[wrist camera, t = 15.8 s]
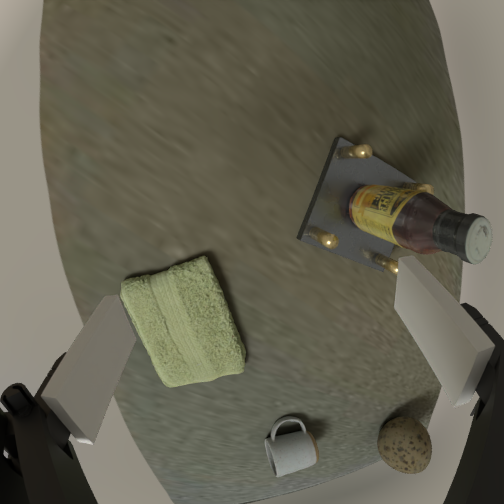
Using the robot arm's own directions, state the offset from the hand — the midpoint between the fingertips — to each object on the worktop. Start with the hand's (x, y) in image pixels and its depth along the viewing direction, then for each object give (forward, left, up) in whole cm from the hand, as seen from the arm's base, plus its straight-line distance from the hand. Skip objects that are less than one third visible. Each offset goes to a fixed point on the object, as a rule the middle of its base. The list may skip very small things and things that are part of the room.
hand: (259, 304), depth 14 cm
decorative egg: (+29, +49, -25) cm, 62 cm away
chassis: (-8, +18, -25) cm, 31 cm away
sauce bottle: (-8, +17, -23) cm, 30 cm away
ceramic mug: (+32, +24, -25) cm, 47 cm away
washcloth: (+14, +1, -25) cm, 29 cm away
